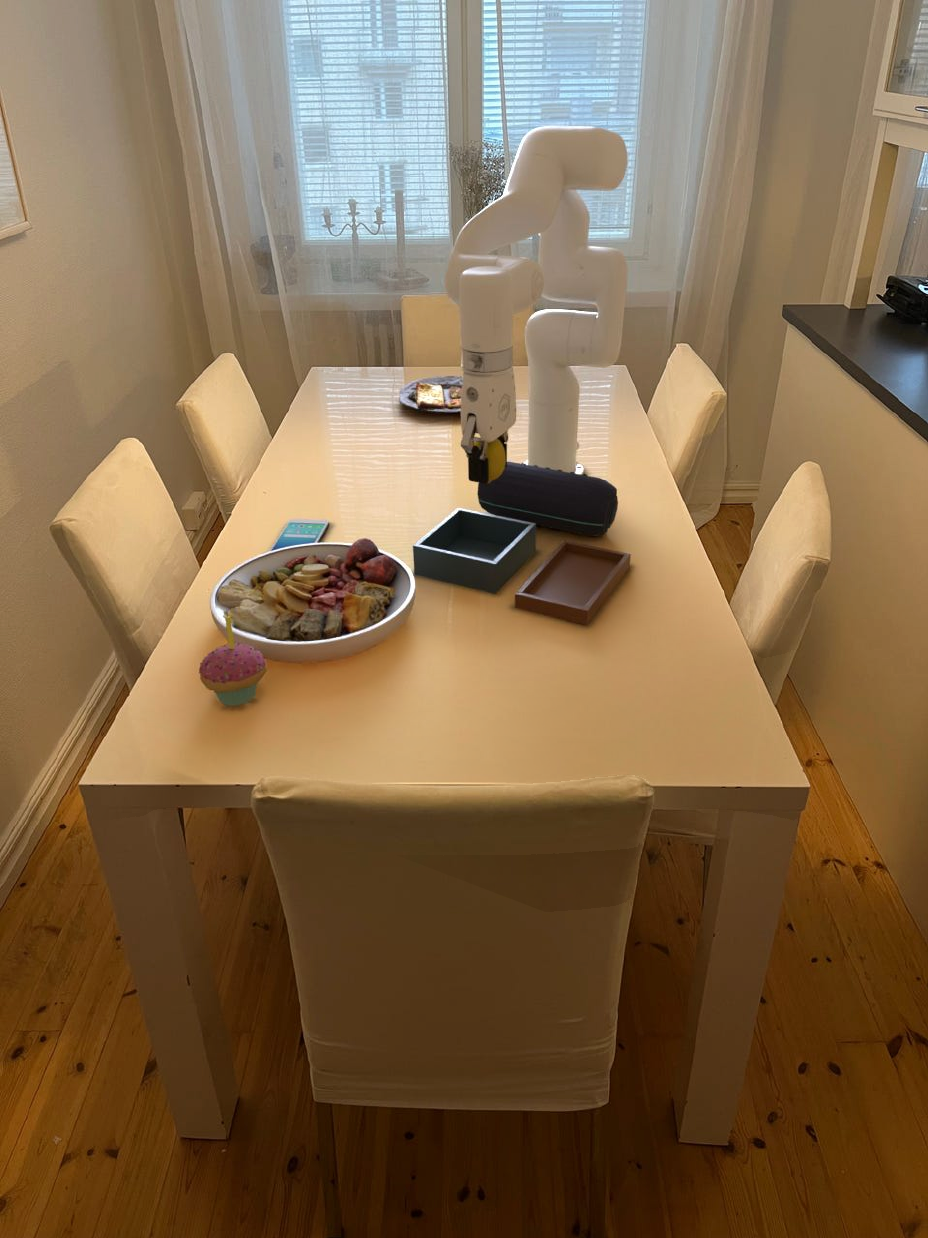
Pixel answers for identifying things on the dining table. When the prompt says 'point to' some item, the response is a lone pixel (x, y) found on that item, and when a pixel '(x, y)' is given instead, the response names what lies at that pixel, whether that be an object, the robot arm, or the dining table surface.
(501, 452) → the lemon
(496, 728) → the dining table surface
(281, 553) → the bowl
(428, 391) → the food plate
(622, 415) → the dining table surface
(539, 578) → the tray
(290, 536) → the smartphone
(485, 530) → the blue open storage box
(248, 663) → the cupcake
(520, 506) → the portable speaker
